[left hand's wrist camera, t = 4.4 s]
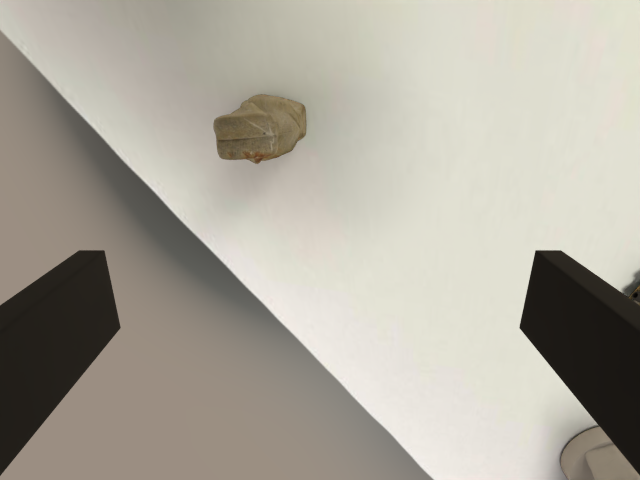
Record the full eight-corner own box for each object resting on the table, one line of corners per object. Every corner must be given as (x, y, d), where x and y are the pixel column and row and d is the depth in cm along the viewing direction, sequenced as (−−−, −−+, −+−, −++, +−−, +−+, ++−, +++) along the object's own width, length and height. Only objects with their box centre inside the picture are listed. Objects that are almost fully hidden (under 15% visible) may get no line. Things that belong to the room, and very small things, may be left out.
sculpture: (241, 91, 44) (204, 95, 30) (307, 92, 44) (301, 97, 30) (244, 145, 46) (211, 173, 32) (306, 146, 46) (301, 174, 32)
